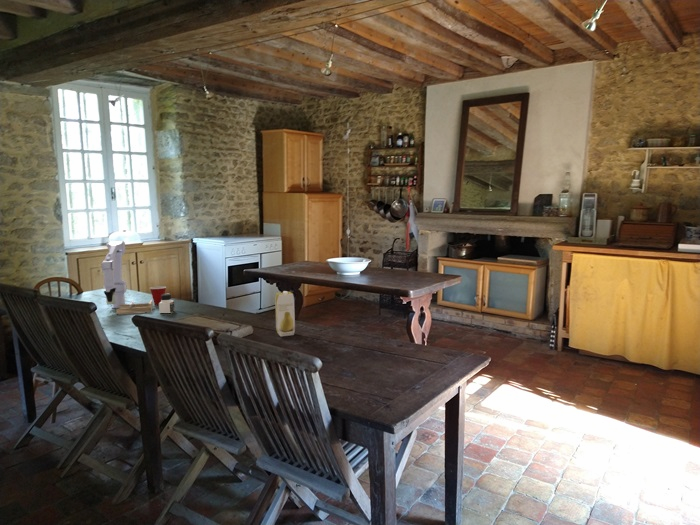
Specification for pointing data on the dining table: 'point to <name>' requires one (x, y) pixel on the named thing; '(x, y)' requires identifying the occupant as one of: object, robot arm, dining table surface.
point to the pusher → (131, 304)
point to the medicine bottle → (166, 304)
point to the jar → (112, 300)
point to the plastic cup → (157, 293)
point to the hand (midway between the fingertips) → (110, 300)
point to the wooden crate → (135, 308)
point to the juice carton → (285, 313)
